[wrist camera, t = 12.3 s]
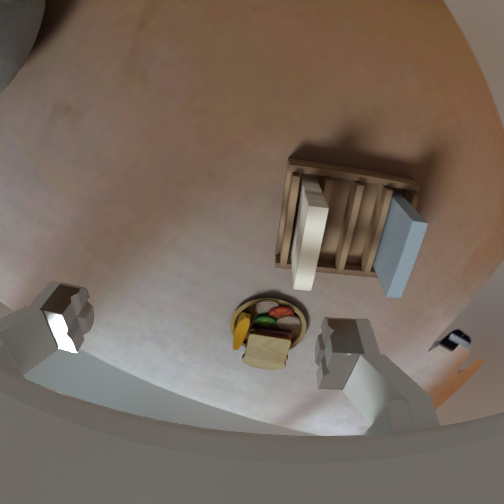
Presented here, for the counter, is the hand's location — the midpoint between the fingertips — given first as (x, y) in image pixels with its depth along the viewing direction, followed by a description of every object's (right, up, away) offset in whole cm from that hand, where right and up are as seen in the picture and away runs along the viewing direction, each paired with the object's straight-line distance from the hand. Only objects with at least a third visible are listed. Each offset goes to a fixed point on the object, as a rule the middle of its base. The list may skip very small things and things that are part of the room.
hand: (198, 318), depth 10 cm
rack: (+14, +7, +31) cm, 35 cm away
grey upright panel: (+20, +6, +30) cm, 36 cm away
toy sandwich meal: (+5, -10, +42) cm, 44 cm away
